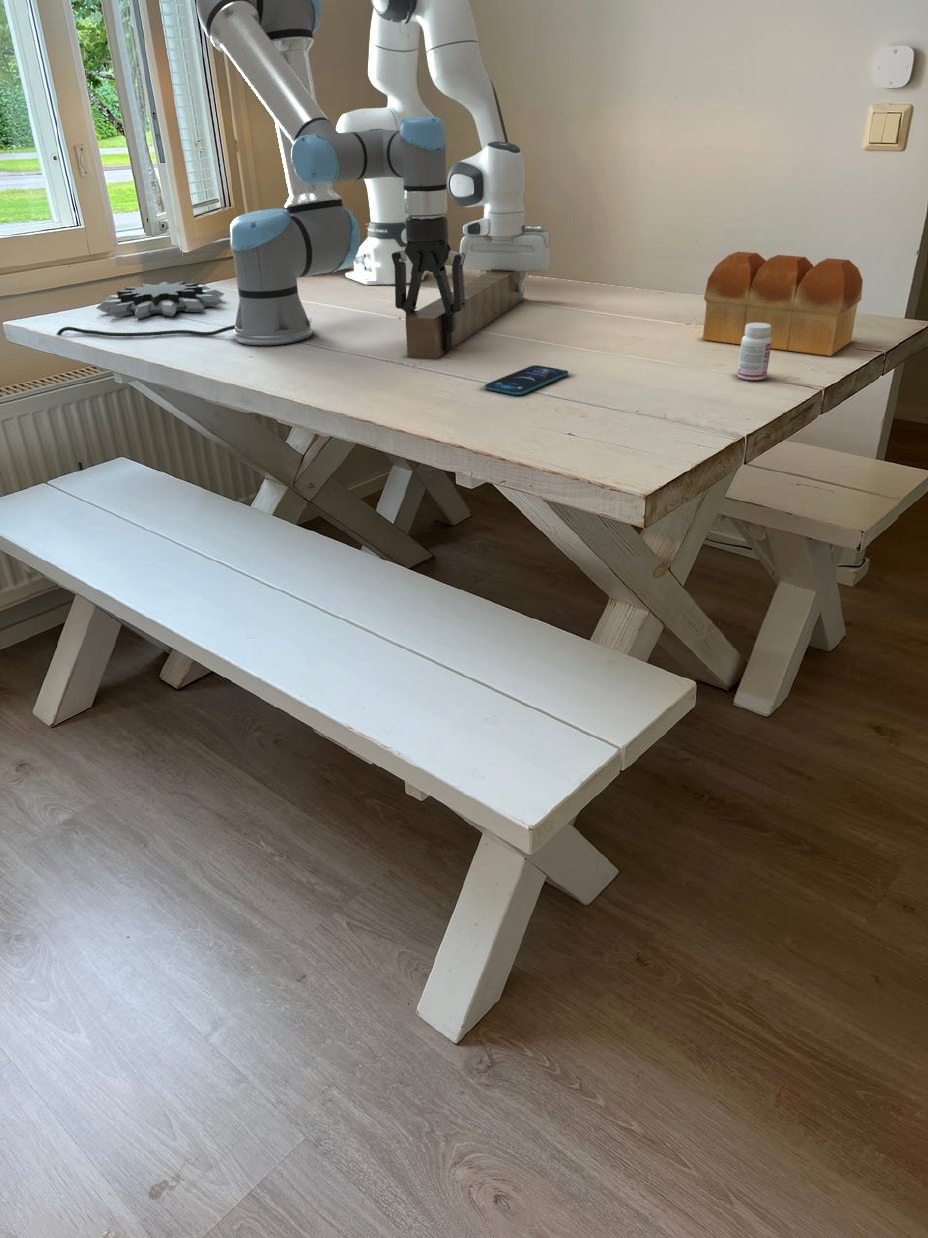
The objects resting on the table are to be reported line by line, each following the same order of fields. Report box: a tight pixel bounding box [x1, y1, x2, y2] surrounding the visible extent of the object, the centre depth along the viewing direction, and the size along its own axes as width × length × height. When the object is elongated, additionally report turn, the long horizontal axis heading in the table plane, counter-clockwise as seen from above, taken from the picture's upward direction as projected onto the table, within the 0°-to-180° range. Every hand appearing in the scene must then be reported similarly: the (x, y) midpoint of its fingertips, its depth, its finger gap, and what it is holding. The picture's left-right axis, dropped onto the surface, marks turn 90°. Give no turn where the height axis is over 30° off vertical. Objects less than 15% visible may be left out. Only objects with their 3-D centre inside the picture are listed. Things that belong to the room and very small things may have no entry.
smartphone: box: [484, 364, 569, 396], centre depth 158 cm, size 8×1×15 cm
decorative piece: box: [95, 280, 225, 319], centre depth 219 cm, size 30×4×30 cm
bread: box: [702, 251, 864, 357], centre depth 174 cm, size 25×12×15 cm, turn 54°
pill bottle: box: [737, 323, 772, 381], centre depth 155 cm, size 5×5×8 cm
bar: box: [405, 270, 524, 360], centre depth 194 cm, size 55×6×7 cm, turn 160°
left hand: (432, 347), depth 178 cm, fingers closed on bar, 6 cm apart
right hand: (504, 291), depth 213 cm, fingers closed on bar, 5 cm apart
